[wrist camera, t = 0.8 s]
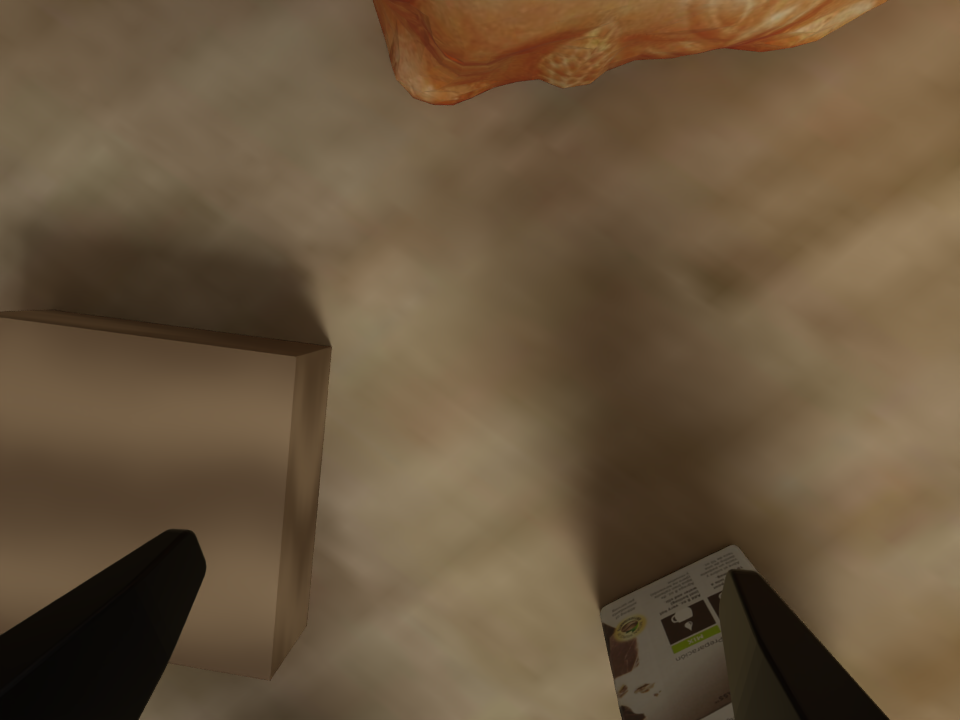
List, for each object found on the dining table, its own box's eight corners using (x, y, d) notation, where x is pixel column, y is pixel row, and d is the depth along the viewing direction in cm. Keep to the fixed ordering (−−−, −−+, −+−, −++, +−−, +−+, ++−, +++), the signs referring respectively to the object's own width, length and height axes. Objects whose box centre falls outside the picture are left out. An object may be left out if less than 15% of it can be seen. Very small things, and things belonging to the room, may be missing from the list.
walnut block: (310, 619, 25) (270, 680, 22) (49, 576, 26) (-36, 627, 22) (334, 345, 24) (296, 356, 20) (57, 309, 25) (-33, 313, 21)
